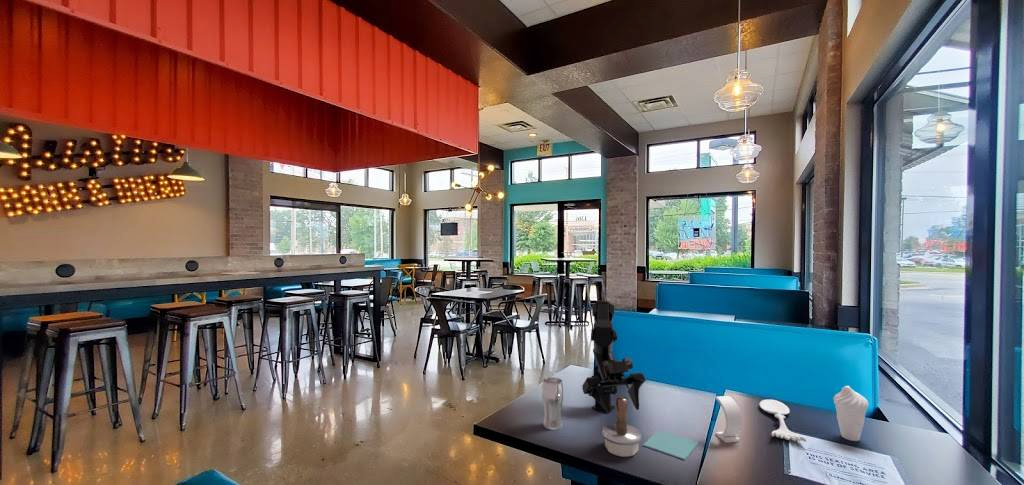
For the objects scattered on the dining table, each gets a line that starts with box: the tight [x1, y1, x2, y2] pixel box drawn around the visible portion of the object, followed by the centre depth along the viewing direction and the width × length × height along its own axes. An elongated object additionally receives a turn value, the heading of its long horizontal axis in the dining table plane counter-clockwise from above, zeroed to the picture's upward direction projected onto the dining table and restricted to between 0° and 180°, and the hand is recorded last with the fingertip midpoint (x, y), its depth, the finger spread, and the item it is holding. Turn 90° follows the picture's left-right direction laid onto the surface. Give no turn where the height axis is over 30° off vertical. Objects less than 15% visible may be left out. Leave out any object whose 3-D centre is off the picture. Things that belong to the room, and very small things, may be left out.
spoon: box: [759, 399, 807, 443], centre depth 135 cm, size 9×32×4 cm, turn 155°
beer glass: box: [541, 376, 564, 431], centre depth 134 cm, size 7×7×15 cm
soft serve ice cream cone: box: [832, 385, 869, 442], centre depth 125 cm, size 8×8×16 cm
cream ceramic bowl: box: [604, 438, 640, 458], centre depth 119 cm, size 9×9×4 cm
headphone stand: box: [715, 395, 743, 443], centre depth 125 cm, size 5×6×12 cm
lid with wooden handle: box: [601, 395, 642, 445], centre depth 119 cm, size 11×11×11 cm
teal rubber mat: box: [643, 429, 699, 461], centre depth 122 cm, size 12×12×1 cm
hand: (623, 411), depth 118 cm, fingers open, 9 cm apart
